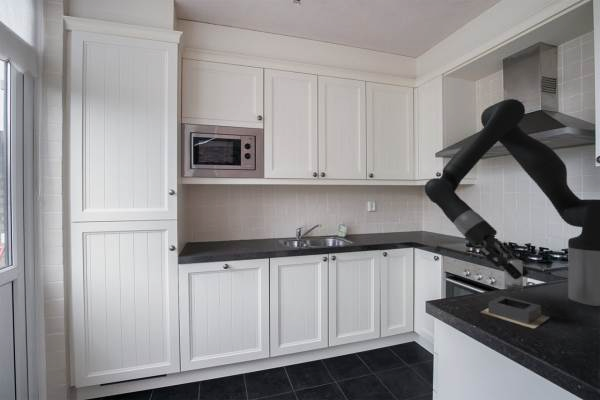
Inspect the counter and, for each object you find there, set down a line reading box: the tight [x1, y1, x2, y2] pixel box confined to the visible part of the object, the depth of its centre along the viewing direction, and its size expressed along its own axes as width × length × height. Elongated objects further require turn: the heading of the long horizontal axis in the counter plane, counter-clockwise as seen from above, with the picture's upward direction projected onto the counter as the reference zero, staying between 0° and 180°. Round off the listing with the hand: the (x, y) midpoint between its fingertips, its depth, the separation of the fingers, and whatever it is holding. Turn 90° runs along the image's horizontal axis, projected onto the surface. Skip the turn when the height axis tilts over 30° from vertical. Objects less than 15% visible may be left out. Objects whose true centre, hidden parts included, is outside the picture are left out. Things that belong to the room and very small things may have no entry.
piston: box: [503, 259, 524, 293], centre depth 75 cm, size 4×4×8 cm
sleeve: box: [487, 295, 542, 325], centre depth 75 cm, size 9×9×3 cm
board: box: [480, 307, 550, 329], centre depth 75 cm, size 12×12×1 cm
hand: (522, 276), depth 73 cm, fingers closed on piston, 4 cm apart
